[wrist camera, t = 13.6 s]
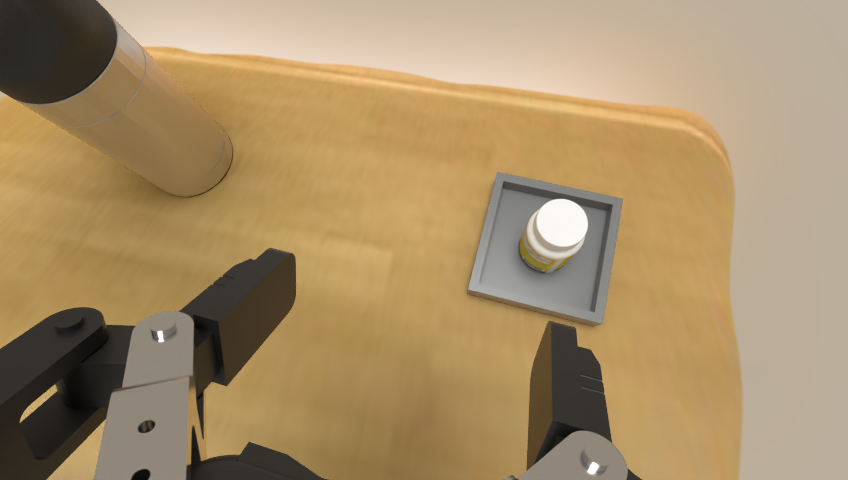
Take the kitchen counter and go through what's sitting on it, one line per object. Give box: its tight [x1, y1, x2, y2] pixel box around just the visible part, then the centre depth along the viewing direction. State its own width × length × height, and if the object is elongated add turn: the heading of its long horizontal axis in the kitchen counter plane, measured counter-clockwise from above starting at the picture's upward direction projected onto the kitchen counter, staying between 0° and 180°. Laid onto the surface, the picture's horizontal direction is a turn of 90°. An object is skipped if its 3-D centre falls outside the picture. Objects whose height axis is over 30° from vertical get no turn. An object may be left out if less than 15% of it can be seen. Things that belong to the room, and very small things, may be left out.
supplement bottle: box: [519, 199, 588, 273], centre depth 38 cm, size 5×5×8 cm
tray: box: [468, 172, 623, 326], centre depth 42 cm, size 12×12×2 cm
